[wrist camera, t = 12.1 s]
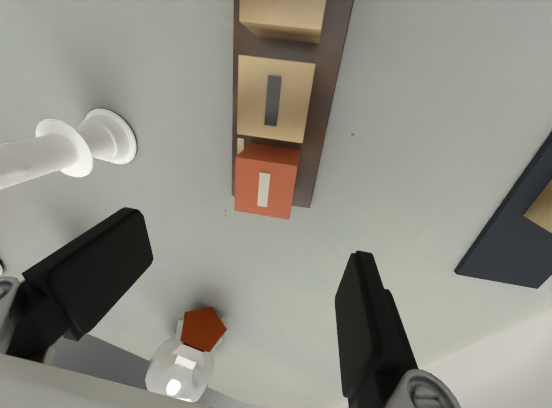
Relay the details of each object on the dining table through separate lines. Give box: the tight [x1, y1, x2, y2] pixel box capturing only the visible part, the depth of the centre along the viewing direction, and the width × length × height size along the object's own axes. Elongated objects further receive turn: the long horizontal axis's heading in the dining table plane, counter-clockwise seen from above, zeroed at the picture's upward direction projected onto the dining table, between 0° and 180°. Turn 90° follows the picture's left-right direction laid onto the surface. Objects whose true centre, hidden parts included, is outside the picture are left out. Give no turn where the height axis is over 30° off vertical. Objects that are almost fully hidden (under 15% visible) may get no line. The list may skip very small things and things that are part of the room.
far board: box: [232, 0, 354, 208], centre depth 17 cm, size 20×8×1 cm, turn 174°
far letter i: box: [237, 55, 316, 143], centre depth 16 cm, size 4×4×5 cm
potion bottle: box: [145, 308, 227, 403], centre depth 32 cm, size 9×10×15 cm
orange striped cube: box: [235, 143, 301, 219], centre depth 18 cm, size 4×4×5 cm
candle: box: [0, 109, 137, 190], centre depth 17 cm, size 5×5×12 cm
